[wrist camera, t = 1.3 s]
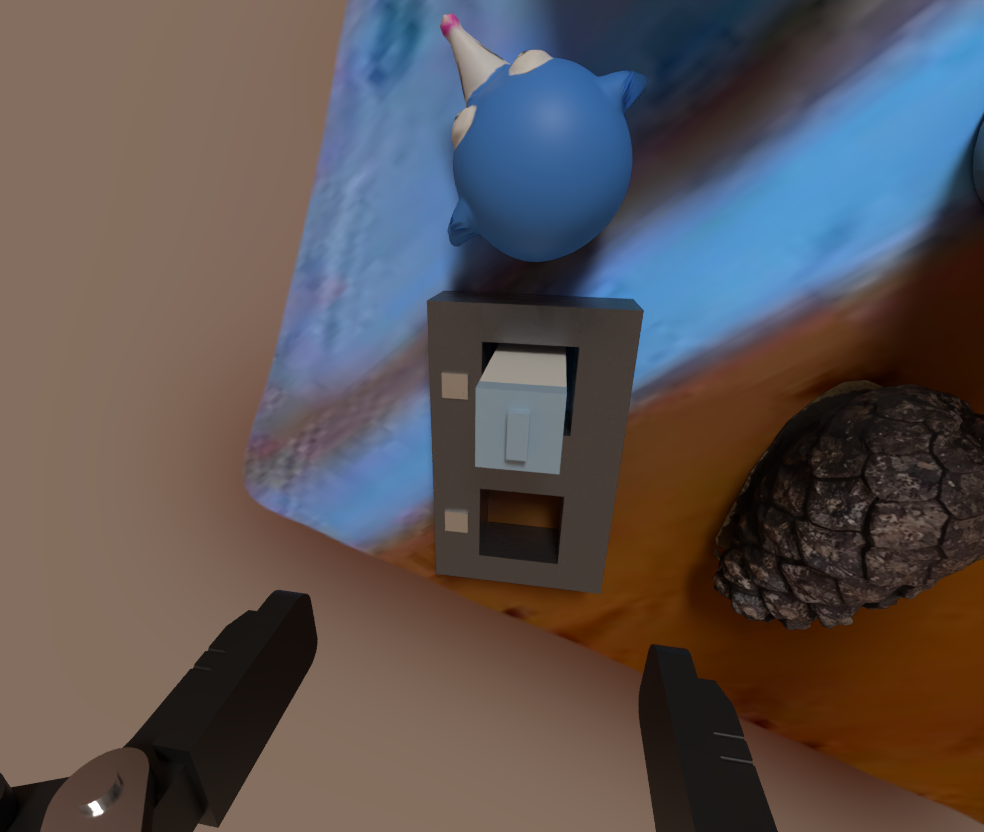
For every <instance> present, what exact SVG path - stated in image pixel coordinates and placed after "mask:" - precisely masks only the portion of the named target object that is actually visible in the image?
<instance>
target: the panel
mask: <svg viewBox="0 0 984 832" xmlns="http://www.w3.org/2000/svg"><path fill="white" fill-rule="evenodd" d="M643 312H644V310H643V309H642V308H641V307H640V306H639V305H638V304H637V303H636V302H635V301H634V300H633V299H618V298H595V297H572V296H549V295H525V294H502V293H479V292H456V291H443V292H441V293H439V294H438V295H436V296H434V297H432V298H431V299H429V300H427V314H428V343H429V372H430V401H431V429H432V458H433V487H434V516H435V545H436V573H437V574H442V575H450V576H458V577H467V578H475V579H483V580H491V581H500V582H508V583H516V584H524V585H532V586H541V587H549V588H557V589H565V590H574V591H582V592H590V593H598V594H600V593H601V587H602V580H603V574H604V567H605V560H606V554H607V547H608V541H609V534H610V528H611V521H612V515H613V508H614V502H615V495H616V488H617V482H618V475H619V469H620V462H621V456H622V449H623V443H624V436H625V430H626V423H627V416H628V410H629V403H630V397H631V390H632V384H633V377H634V371H635V364H636V358H637V351H638V345H639V338H640V331H641V325H642V318H643ZM491 342H498V343H515V344H533V345H551V346H568V347H576V351H575V361H574V371H573V382H572V392H571V402H570V411H565V419H564V430H563V441H562V451H561V462H560V473H559V474H549V473H538V472H527V471H516V470H505V469H494V468H483V467H475V412H476V386H477V385H478V383H479V381H480V379H481V377H482V375H483V373H484V371H485V369H486V367H487V365H488V364H489V362H490V360H491ZM488 489H489V490H500V491H510V492H520V493H531V494H541V495H551V496H561V505H560V516H559V526H558V529H552V528H542V527H533V526H524V525H514V524H505V523H495V522H488Z"/></svg>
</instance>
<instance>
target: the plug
mask: <svg viewBox="0 0 984 832" xmlns="http://www.w3.org/2000/svg"><path fill="white" fill-rule="evenodd" d="M566 398H567V382H566V346H551V345H533V344H515V343H499V345H498V346H497V348H496V350H495V352H494V354H493V356H492V358H491V360H490V362H489V364H488V365H487V367H486V369H485V371H484V373H483V375H482V377H481V379H480V381H479V383H478V385H477V386H476V412H475V467H483V468H494V469H505V470H516V471H527V472H538V473H549V474H559V473H560V462H561V451H562V441H563V430H564V419H565V408H566Z"/></svg>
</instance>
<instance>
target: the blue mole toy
mask: <svg viewBox="0 0 984 832" xmlns="http://www.w3.org/2000/svg"><path fill="white" fill-rule="evenodd" d="M440 28H441V30H442V33H443V35H444V36H445V38H446V39H447V40H448V41H449V43H450V44H451V47H452V51H453V54H454V57H455V61H456V65H457V68H458V72H459V76H460V80H461V85H462V90H463V94H464V99H465V102H466V109H464V110H462V111H461V112H460V113H458V115H457V116H456V118H455V121H454V124H453V128H452V142H453V145H454V156H453V171H454V179H455V184H456V189H457V192H458V196H459V201H458V204H457V206H456V208H455V210H454V212H453V215H452V218H451V220H450V221H451V222H450V224H449V226H448V235H449V240H450V243H451V244H452V245H453V246H460V245H461V244H463V243H464V242H466V241H467V240H469V239H470V238H472V237H474V236H475V235H478V234H480V235H481V236H483V237H484V238H485V239H486V240H487V241H488V242H489V243H490V244H491V245H492V246H494V247H495V248H496V249H498V250H499V251H501V252H503V253H504V254H506V255H508V256H510V257H513V258H516V259H519V260H523V261H529V262H543V261H549V260H554V259H557V258H560V257H563V256H566V255H568V254H570V253H572V252H574V251H576V250H578V249H580V248H581V247H583V246H584V245H586V244H587V243H588V242H590V241H591V240H592V239H593V238H595V237H596V236H597V235H598V234H599V233H600V232H601V231H602V230H603V229H604V228H605V227H606V226H607V225H608V223H609V222H610V221H611V220H612V218H613V217H614V215H615V214H616V212H617V211H618V209H619V207H620V206H621V204H622V202H623V200H624V197H625V195H626V192H627V190H628V187H629V183H630V179H631V173H632V145H631V138H630V134H629V130H628V126H627V123H626V120H625V117H624V114H625V112H626V110H627V109H628V108H629V107H630V106H631V105H632V104H633V103H634V102H635V100H636V99H637V98H638V97H639V96H640V95H641V94H642V93H643V92H644V91H645V89H646V86H647V78H646V77H645V76H644V75H643V74H640V73H638V72H636V71H628V70H626V71H625V70H623V71H619V72H613V73H610V74H607V75H604V76H599V77H598V76H596V75H594V74H593V73H592V72H590V71H589V70H588V69H586V68H584V67H583V66H581V65H579V64H577V63H575V62H572V61H569V60H566V59H561V58H552V57H550V56H549V55H548V54H547V53H546V52H544V51H541V50H529V51H524V52H522V53H521V54H520V55H519V56H518V57H517V58H516V60H515V61H514V63H513V64H512V65H511V64H509V63H508V62H506V61H505V60H504V59H502V58H501V57H499V56H498V55H496V54H495V53H493V52H492V51H490V50H489V49H487V48H486V47H484V46H483V45H482V44H481V43H479V42H478V41H477V40H475V39H474V38H473V37H472V36H471V35H469V34H468V33H467V32H465V31H464V30H463V28H462V27H461V24H460V22H459V20H458V18H457V17H456V16H455V15H454V14H448V15H443V19H442V22H441V26H440Z"/></svg>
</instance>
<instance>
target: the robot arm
mask: <svg viewBox="0 0 984 832" xmlns="http://www.w3.org/2000/svg"><path fill="white" fill-rule="evenodd" d="M973 176H974V182H975V187H976V191H977V193H978V194H979V196H980V198H981V200H982V202H983V204H984V121H983V123H982V125H981V127H980V131H979V134H978V138H977V141H976V145H975V148H974V157H973ZM316 649H317V633H316V627H315V621H314V615H313V609H312V604H311V599H310V596H309V595H308V594H304V593H297V592H290V591H283V590H276V591H274V592H273V593H272V594H271V595H270V596H269V597H268V598H267V599H266V601H265V602H264V603H263V604H262V606H261V607H260V608H259V609H258V611H251V610H248V611H247V612H245V613H244V614H243V615H241V616H240V617H238V618H237V619H236V620H234V621H233V622H232V623H230V624H229V625H227V626H226V627H225V628H224V630H223V631H222V632H221V633H220V634H219V636H218V637H217V638H216V639H215V641H213V643H212V644H211V645H210V646H209V649H208V651H205V652H204V653H203V655H202V656H201V657H200V658H199V659H198V661H197V662H196V663H195V665H194V668H193V669H190V670H189V671H188V672H187V674H186V675H185V676H184V677H183V678H182V680H181V681H180V682H179V683H178V684H177V686H176V687H175V688H174V689H173V690H172V692H171V693H170V694H169V695H168V696H167V698H166V699H165V700H164V701H163V702H162V703H161V705H160V706H159V707H158V708H157V709H156V711H155V712H154V713H153V714H152V715H151V717H150V718H149V719H148V720H147V721H146V723H145V724H144V725H143V726H142V727H141V728H140V730H139V731H138V732H137V733H136V734H135V736H134V737H133V738H132V739H131V740H130V741H129V742H128V743H127V744H126V745H125V746H124V747H123V748H119V749H115V750H112V751H109V752H106V753H104V754H102V755H100V756H98V757H96V758H94V759H93V760H91V761H89V762H88V763H86V764H85V765H83V766H82V767H81V768H80V769H78V770H77V771H76V772H75V773H74V774H73V775H71V776H70V777H66V778H61V779H55V780H50V781H45V782H39V783H34V784H28V785H22V786H17V787H10V786H9V784H8V783H7V781H6V780H5V778H4V777H3V775H2V774H1V773H0V832H193V831H194V829H195V827H196V826H197V824H198V823H199V824H204V825H208V826H213V827H217V828H218V827H219V826H220V824H221V822H222V820H223V819H224V817H225V815H226V813H227V812H228V810H229V808H230V806H231V805H232V803H233V801H234V799H235V798H236V796H237V794H238V792H239V791H240V789H241V787H242V785H243V784H244V782H245V780H246V778H247V777H248V775H249V773H250V771H251V770H252V768H253V766H254V765H255V763H256V761H257V759H258V758H259V756H260V754H261V752H262V751H263V749H264V747H265V745H266V744H267V742H268V740H269V738H270V737H271V735H272V733H273V731H274V730H275V728H276V726H277V724H278V723H279V721H280V719H281V717H282V715H283V714H284V712H285V710H286V708H287V707H288V705H289V703H290V702H291V700H292V698H293V696H294V695H295V693H296V691H297V689H298V687H299V686H300V684H301V682H302V681H303V679H304V677H305V675H306V674H307V672H308V670H309V668H310V667H311V665H312V662H313V660H314V657H315V654H316ZM639 720H640V728H641V735H642V741H643V748H644V754H645V760H646V768H647V774H648V781H649V788H650V794H651V801H652V808H653V814H654V821H655V828H656V832H778V831H777V828H776V825H775V823H774V820H773V817H772V814H771V811H770V808H769V805H768V802H767V799H766V797H765V794H764V791H763V788H762V785H761V783H760V780H759V777H758V774H757V771H756V768H755V766H753V763H752V757H751V754H750V751H749V748H748V745H747V742H746V741H745V740H744V734H743V731H742V728H741V725H740V723H739V720H738V717H737V714H736V711H735V708H734V706H733V705H732V703H731V702H730V701H729V699H728V698H727V696H726V695H725V694H724V692H723V691H722V690H721V688H720V687H719V686H718V684H717V683H716V681H712V680H706V679H699V678H697V674H696V671H695V667H694V664H693V661H692V657H691V655H690V652H689V651H688V650H687V649H683V648H676V647H669V646H662V645H655V644H651V646H650V648H649V651H648V656H647V660H646V664H645V669H644V673H643V677H642V681H641V686H640V691H639Z"/></svg>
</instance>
